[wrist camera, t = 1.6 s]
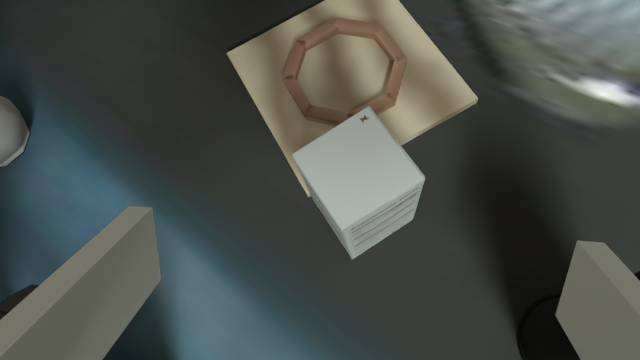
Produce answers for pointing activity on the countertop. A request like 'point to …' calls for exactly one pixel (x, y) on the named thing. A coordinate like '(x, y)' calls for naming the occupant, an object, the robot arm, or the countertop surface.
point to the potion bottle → (11, 132)
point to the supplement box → (361, 180)
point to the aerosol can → (545, 332)
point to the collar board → (348, 73)
